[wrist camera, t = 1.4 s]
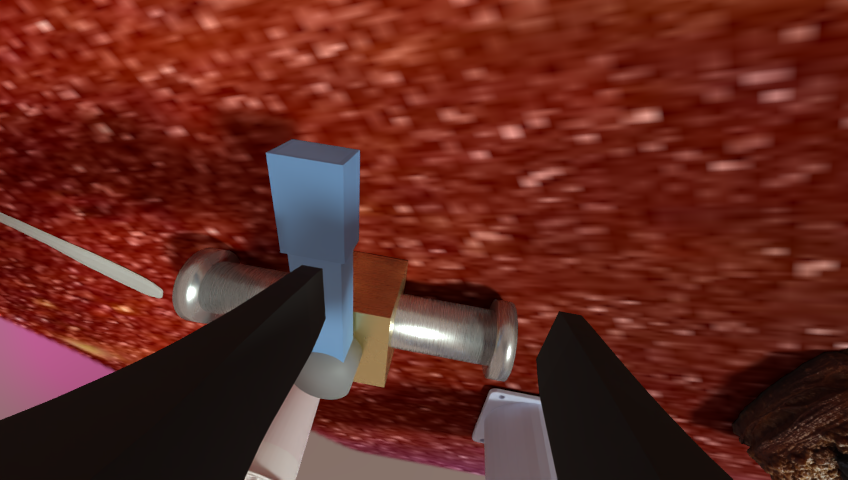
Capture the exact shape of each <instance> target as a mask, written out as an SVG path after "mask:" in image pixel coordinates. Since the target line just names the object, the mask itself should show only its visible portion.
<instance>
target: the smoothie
mask: <svg viewBox="0 0 848 480" xmlns="http://www.w3.org/2000/svg"><path fill="white" fill-rule="evenodd" d="M319 400H320V398H317V397H314V396H311V395H309V394H307V393H305V392H303V391H302V390H300V389H299V388H298V387H297V386H296V385H295V384H294V385H293V386H292V388H291V390H290V392H289V393H288V395H287V397H286V399H285V400H284V402H283V404H282V406H281V408H280V409H279V411H278V413H277V415H276V416H275V418H274V420H273V422H272V423H271V425H270V427H269V429H268V431H267V433H266V435H265V437H264V439H263V440H262V442H261V444H260V446H259V449H258V451H257V453H256V455H255V457H254V460H253V462H252V464H251V466H250V468H249V470H248V473H247V475H246V477H245V479H244V480H296V476H297V474H298V471H299V467H300V463H301V460H302V457H303V453H304V450H305V446H306V444H307V440H308V437H309V434H310V430H311V427H312V424H313V420H314V417H315V414H316V410H317V407H318V404H319Z"/></svg>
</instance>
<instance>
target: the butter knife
mask: <svg viewBox="0 0 848 480" xmlns="http://www.w3.org/2000/svg"><path fill="white" fill-rule="evenodd" d="M0 222H2V223H4V224H6V225H8V226H10V227H12V228H14V229H17V230H19V231H21V232H23V233H25V234H27V235H29V236H31V237H33V238H35V239H37V240H39V241H41V242H43V243H45V244H47V245H49V246H51V247H53V248H55V249H57V250H58V251H60V252H62V253H64V254H66V255H67V256H69V257H71V258H73V259H75V260H77V261H78V262H80V263H82V264H84V265H86V266H88V267H90V268H92V269H94V270H96V271H98V272H100V273H102V274H104V275H106V276H108V277H110V278H112V279H114V280H116V281H118V282H120V283H122V284H125V285H127V286H129V287H131V288H133V289H135V290H137V291H139V292H142V293H144V294H146V295H149V296H152V297H156V298H162V296H163V290H162V289H161V288H160V287H158V286H157V285H156V284H154V283H153V282H152V281H150V280H148V279H146V278H144V277H142V276H140V275H138V274H136V273H134V272H133V271H131V270H129V269H126V268H124V267H122V266H120V265H118V264H116V263H114V262H112V261H109V260H107V259H105V258H103V257H101V256H99V255H97V254H94V253H92V252H90V251H88V250H85V249H83V248H81V247H78V246H76V245H73V244H71V243H69V242H66V241H64V240H62V239H59V238H57V237H55V236H52V235H50V234H48V233H46V232H43V231H41V230H39V229H37V228H35V227H32V226H30V225H28V224H26V223H23V222H21V221H19V220H17V219H14V218H12V217H10V216H7V215H5V214H3V213H1V212H0Z"/></svg>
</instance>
